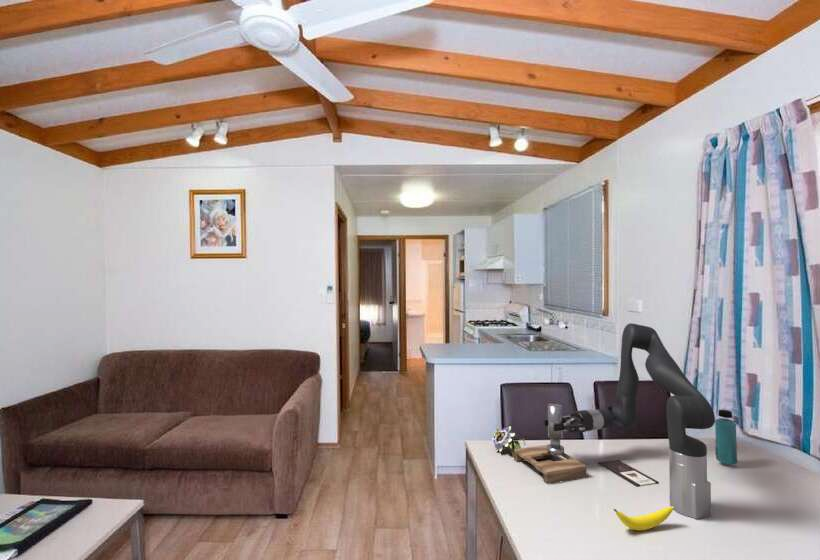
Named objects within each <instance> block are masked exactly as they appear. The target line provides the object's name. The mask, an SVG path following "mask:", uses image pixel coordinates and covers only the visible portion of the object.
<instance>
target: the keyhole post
mask: <svg viewBox="0 0 820 560" xmlns="http://www.w3.org/2000/svg"><path fill="white" fill-rule="evenodd" d="M562 416H563V405H561V404H559V403H548V404H547V419H548V426H547V437H548V438H549V439H550V444H546V445H547V452H548V453H549V454H551V455H553V456H561V455H563V454H564V453H565V447H564V446H562V445H561V440H562V439H563V438H564V437H563V436H564V435H563V433H564V432H563V430H562V431H554V430H553V425H555V424H562Z"/></svg>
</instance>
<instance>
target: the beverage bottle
mask: <svg viewBox="0 0 820 560" xmlns="http://www.w3.org/2000/svg"><path fill="white" fill-rule="evenodd" d="M717 414H718V415H717V416H719V417H720V418H717V419H715V423H714V425H715V427H714V428H715V431H714V434H715V441H714V443H715V459H716V460H717V461H718V462H720V463H723V464H726V465H733V466H734V465H737V463H738V460H739V459H738V443H737V442H738V441H737V423H736V422H735V421H733V420H732V418H733V412H732V410H727V409H719V410H718V413H717Z"/></svg>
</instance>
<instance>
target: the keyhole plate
mask: <svg viewBox="0 0 820 560" xmlns="http://www.w3.org/2000/svg"><path fill="white" fill-rule="evenodd" d="M547 445H548V444H544V445H536V446H529V447H521V449H517V448H516V449H514V456H513V459H514V460H513V461H515V462H516V463H521V462H527V463H529V464H530V465H532V466H533V467H535V468H536V469H537V470H539V471H540V472H542V474H543V478H542V479H543V480H542V481H544V482H543V483H545V484H546V483H547V485H549V484H548V483H551V484H555V483H554V482H557V483H561V482H560V481H563V482H567V481H566V480H568V481H572V480H571V479H574V480H578V479H577V478H580V479H584V478H583V477H585V478H587V465H586V464H585V463H583V462H581V461H579V460H577V459H576V458H574V457H573V456H571V455H569V454H567V453H566V452H564V454H563V455H560V456H561V457H563V458H564V459H561V460H555V461H553V460H551V459H547V458H553V457H554V455H551V454H549V453H548V452H547ZM539 459H540V460H541V459H547V460H542V461H537V460H539Z"/></svg>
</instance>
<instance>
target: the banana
mask: <svg viewBox="0 0 820 560" xmlns="http://www.w3.org/2000/svg"><path fill="white" fill-rule="evenodd" d="M613 511H614V512H615V513H616V516H617V517H618V519H619V520H620V521H621V523H622V524H624V525H625V527H627V528H628V529H631V530H636V531H646V530H650V529H652V528H655V527H656V526H659V525H661V524H663V522H665V521H666V520H667V519H668V518H669V516H670V515H671V513H672V512H673V511H674V506H673V507H671V506H668V507H664V508H661V509H659V510H657V511H654V512H651V513H648V514H644V515H641V516H634V517H633V516H627V515H626V514H625V513H623V512H621V511H619V510H617V509H616V508H613Z"/></svg>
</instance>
